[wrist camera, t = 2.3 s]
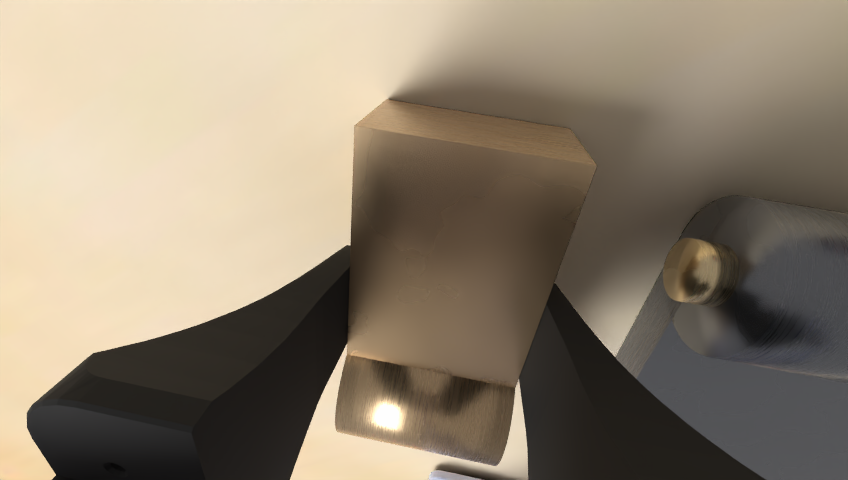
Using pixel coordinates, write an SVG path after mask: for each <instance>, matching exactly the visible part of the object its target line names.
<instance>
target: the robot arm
mask: <svg viewBox="0 0 848 480" xmlns="http://www.w3.org/2000/svg"><path fill="white" fill-rule="evenodd" d="M350 249H351V246H348V245H347V246H345V247H344V248H342V249H341V250H339V251H338V252H336V253H335V254H333V255H332V256H330V257H329V258H328V259H326V260H325V261H323V262H322V263H320V264H319V265H317V266H316V267H314V268H313V269H311V270H310V271H308V272H307V273H305V274H304V275H302V276H301V277H299V278H298V279H296V280H294V281H292V282H291V283H289V284H287V285H286V286H284V287H282V288H281V289H279V290H277V291H275V292H273V293H272V294H270V295H268V296H266V297H264V298H262V299H260V300H258V301H256V302H254V303H251V304H249V305H247V306H245V307H243V308H241V309H238V310H236V311H233V312H231V313H228V314H226V315H223V316H221V317H218V318H215V319H213V320H210V321H208V322H205V323H202V324H200V325H197V326H194V327H191V328H188V329H185V330H182V331H178V332H175V333H172V334H168V335H165V336H162V337H158V338H155V339H151V340H147V341H143V342H139V343H135V344H131V345H127V346H123V347H118V348H114V349H110V350H106V351H101V352H97V353H93V354H92V355H90V356H89V357H88V358H87V359H86V360H84V361H83V362H82V363H81V364H80V365H79V366H77V367H76V368H75V369H74V370H73V371H71V372H70V373H69V374H68V375H67V376H66V377H64V378H63V379H62V380H61V381H60V382H59V383H57V384H56V385H55V386H54V387H53V388H51V389H50V390H49V391H48V392H47V393H46V394H44V395H43V396H42V397H41V398H40V399H39V400H37V401H36V402H35V403H34V404H33V405H32V406H31V407H30V409H29V410H28V412H27V428H28V430H29V432H30V435H31V437H32V439H33V440H34V442H35V443H36V445H37V446H38V448H39V449H40V451H41V452H42V454H43V455H44V457H45V458H46V460H47V462H48V463H49V465H50V466H51V468H52V469H53V471H54V472H55V474H56V476H55V477H54V478H53V479H52V480H290V477H291V475H292V472H293V469H294V466H295V463H296V460H297V458H298V455H299V452H300V449H301V447H302V444H303V441H304V438H305V436H306V433H307V430H308V428H309V425H310V422H311V420H312V417H313V414H314V412H315V409H316V406H317V404H318V402H319V399H320V397H321V395H322V393H323V390H324V388H325V386H326V384H327V382H328V380H329V378H330V376H331V374H332V372H333V370H334V368H335V366H336V364H337V362H338V360H339V358H340V356H341V354H342V352H343V350H344V348H345V346H346V344H347V341H348V311H349V280H350ZM519 381H520V389H521V397H522V404H523V412H524V419H525V427H526V436H527V447H528V478H529V480H766V479H764V478H763V477H761V476H760V475H758V474H757V473H755V472H754V471H752V470H751V469H749V468H748V467H746V466H744V465H743V464H741V463H740V462H739V461H737V460H736V459H734V458H733V457H732V456H730V455H729V454H727V453H726V452H725V451H723V450H722V449H721V448H719V447H718V446H716V445H715V444H714V443H712V442H711V441H710V440H708V439H707V438H705V437H704V436H703V435H702V434H700V433H699V432H698V431H696V430H695V429H694V428H693V427H691V426H690V425H689V424H687V423H686V422H685V421H684V420H682V419H681V418H680V417H679V416H678V415H676V414H675V413H674V412H673V411H672V410H670V409H669V408H668V407H667V406H666V405H664V404H663V403H662V402H661V401H660V400H659V399H657V398H656V397H655V396H654V395H653V394H652V393H651V392H650V391H648V390H647V389H646V388H645V387H644V386H643V385H642V384H641V383H640V382H639V381H638V380H637V379H636V378H635V377H634V376H633V375H632V374H631V373H630V372H629V371H628V370H627V369H626V368H625V367H624V366H623V365H622V364H621V363H620V362H619V361H618V360H617V359H616V358H615V357H614V356H613V355H612V353H611V352H610V351H609V350H608V349H607V348H606V347H605V346H604V345H603V344H602V342H601V341H600V340H599V339H598V338H597V336H596V335H595V334H594V333H593V332H592V330H591V329H590V328H589V327H588V326H587V324H586V323H585V322H584V321H583V319H582V318H581V317H580V315H579V314H578V313H577V312H576V310H575V309H574V308H573V306H572V305H571V304H570V302H569V301H568V300H567V298H566V297H565V296H564V294H563V293H562V292H561V291H560V289H559V288H558V287H557V285H556V284H553V287H552V289H551V292H550V295H549V298H548V300H547V303H546V306H545V308H544V311H543V314H542V317H541V319H540V322H539V325H538V327H537V330H536V333H535V336H534V338H533V341H532V344H531V346H530V349H529V352H528V355H527V357H526V360H525V363H524V365H523V368H522V371H521V374H520V376H519ZM429 480H483V479H478V478H474V477H469V476H465V475H460V474H455V473H451V472H446V471H442V470H435V471H433V472H431V473H430V475H429Z"/></svg>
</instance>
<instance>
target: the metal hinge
mask: <svg viewBox="0 0 848 480" xmlns="http://www.w3.org/2000/svg"><path fill="white" fill-rule="evenodd" d="M615 358H616V359H617V360H618V361H619V362H620V363H621V364H622V365H623V366H624V367H625V368H626V369H627V370H628V371H629V372H630V373H631V374H632V375H633V376H634V377H635V378H636V379H637V380H638V381H639V382H640V383H641V384H642V385H643V386H644V387H645V388H646V389H647V390H648V391H650V392H651V393H652V394H653V395H654V396H655V397H656V398H657V399H659V400H660V401H661V402H662V403H663V404H664V405H666V406H667V407H668V408H669V409H670V410H672V411H673V412H674V413H675V414H676V415H678V416H679V417H680V418H681V419H682V420H684V421H685V422H686V423H687V424H689V425H690V426H691V427H693V428H694V429H695V430H696V431H698V432H699V433H700V434H702V435H703V436H704V437H705V438H707V439H708V440H710V441H711V442H712V443H714V444H715V445H716V446H718V447H719V448H721V449H722V450H723V451H725V452H726V453H727V454H729V455H730V456H732V457H733V458H734V459H736V460H737V461H739V462H740V463H741V464H743V465H744V466H746V467H748V468H749V469H751V470H752V471H754V472H755V473H757V474H758V475H760V476H761V477H763V478H764V479H766V480H848V213H842V212H836V211H830V210H824V209H818V208H812V207H806V206H800V205H794V204H788V203H782V202H776V201H770V200H764V199H758V198H752V197H746V196H738V195H737V196H727V197H723V198H720V199H718V200H715V201H714V202H712V203H710V204H708V205H707V206H706V207H704V208H703V209H702V210H701V211H700V212H698V213H697V214H696V215H695V216H694V218H693V219H692V220H691V221H690V222H689V224H688V225H687V227H686V228H685V229H684V231H683V233H682V235H681V236H680V238H679V240H678V242H677V243H676V244H675V245H674V246H673V247H672V248H671V250H670V252H669V254H668V256H667V258H666V261H665V265H664V268H663V270H662V272H661V274H660V275H659V277H658V279H657V281H656V283H655V285H654V287H653V288H652V290H651V292H650V294H649V296H648V298H647V300H646V301H645V303H644V305H643V307H642V309H641V311H640V313H639V315H638V316H637V318H636V320H635V322H634V324H633V326H632V328H631V329H630V331H629V333H628V335H627V337H626V339H625V341H624V343H623V344H622V346H621V348H620V350H619V352H618V354H617V356H616V357H615Z"/></svg>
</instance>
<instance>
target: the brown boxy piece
mask: <svg viewBox="0 0 848 480" xmlns="http://www.w3.org/2000/svg"><path fill="white" fill-rule="evenodd" d="M596 168H597V165H596V164H595V162H594V161H593V159H592V158H591V157H590V155H589V154H588V153H587V151H586V150H585V148H584V147H583V146H582V144H581V143H580V142H579V140H578V139H577V137H576V136H575V135H574V133H573V132H572V131H571V129H569V128H563V127H556V126H550V125H544V124H538V123H531V122H525V121H519V120H513V119H507V118H500V117H494V116H488V115H482V114H475V113H469V112H463V111H457V110H450V109H444V108H438V107H432V106H426V105H419V104H413V103H407V102H401V101H394V100H388V99H387V100H385V101H384V102H383V103H382V104H380V105H379V106H378V107H377V108H376V109H374V110H373V111H372V112H371V113H369V114H368V115H367V116H366V117H365V118H363V119H362V120H361V121H360V122H358V123H357V124H356V125H355V126H354V157H353V187H352V218H351V249H350V280H349V311H348V341H347V356H346V360H345V364H344V368H343V372H342V377H341V381H340V386H339V392H338V398H337V405H336V415H335V426H336V430H337V432H340V433H344V434H349V435H354V436H358V437H363V438H367V439H372V440H377V441H381V442H386V443H391V444H395V445H400V446H405V447H409V448H414V449H419V450H423V451H428V452H433V453H437V454H442V455H447V456H451V457H456V458H461V459H465V460H470V461H474V462H479V463H484V464H488V465H493V466H496V465H498V464H499V462H500V460H501V458H502V456H503V453H504V450H505V447H506V444H507V440H508V435H509V431H510V425H511V419H512V413H513V405H514V395H515V387H516V384H517V382H518V379H519V376H520V374H521V371H522V368H523V365H524V363H525V360H526V357H527V355H528V352H529V349H530V346H531V344H532V341H533V338H534V336H535V333H536V330H537V327H538V325H539V322H540V319H541V317H542V314H543V311H544V308H545V306H546V303H547V300H548V298H549V295H550V292H551V289H552V287H553V284H554V281H555V279H556V276H557V273H558V271H559V268H560V265H561V262H562V260H563V257H564V254H565V252H566V249H567V246H568V243H569V241H570V238H571V235H572V233H573V230H574V227H575V224H576V222H577V219H578V216H579V214H580V211H581V208H582V205H583V203H584V200H585V197H586V195H587V192H588V189H589V186H590V184H591V181H592V178H593V176H594V173H595V170H596Z"/></svg>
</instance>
